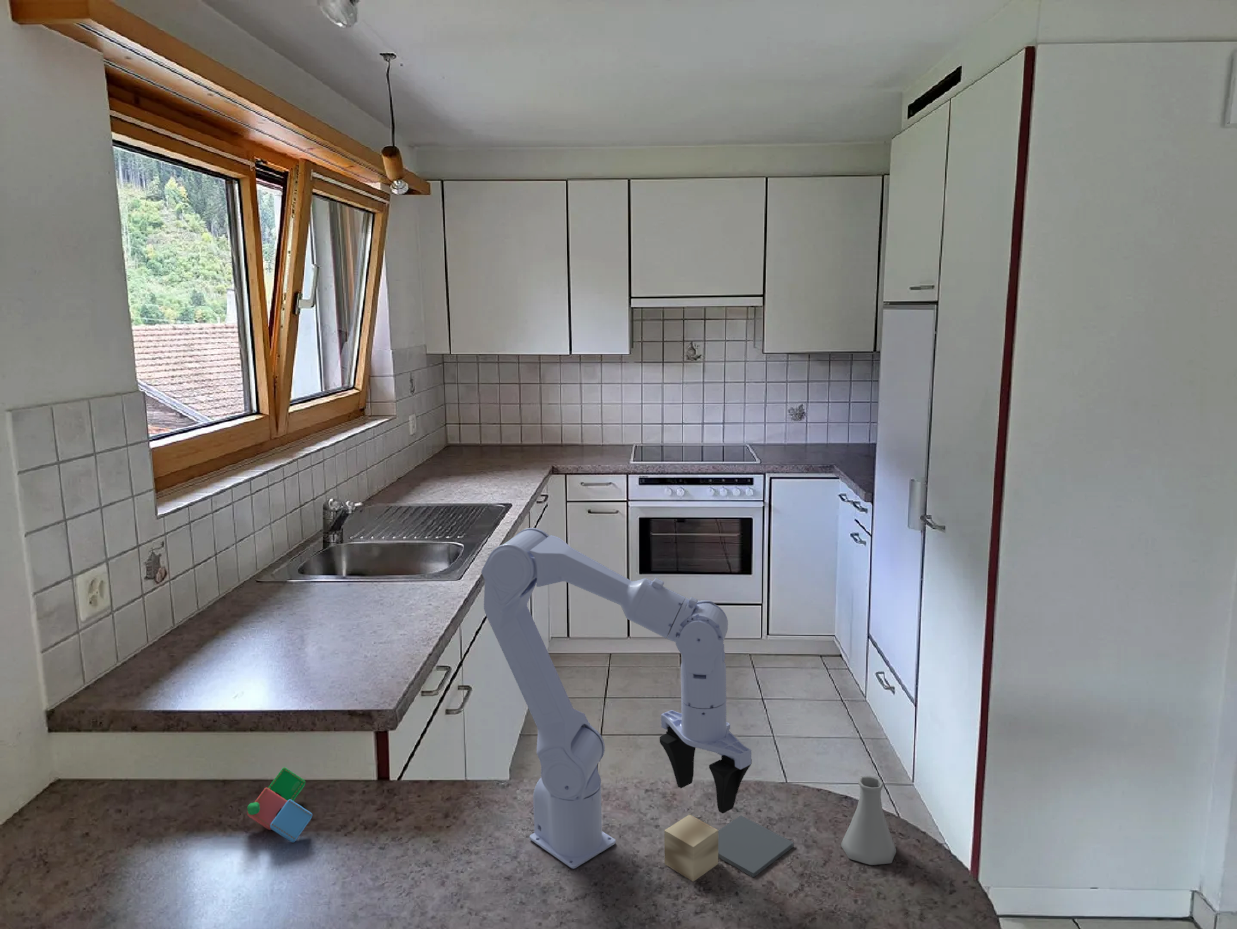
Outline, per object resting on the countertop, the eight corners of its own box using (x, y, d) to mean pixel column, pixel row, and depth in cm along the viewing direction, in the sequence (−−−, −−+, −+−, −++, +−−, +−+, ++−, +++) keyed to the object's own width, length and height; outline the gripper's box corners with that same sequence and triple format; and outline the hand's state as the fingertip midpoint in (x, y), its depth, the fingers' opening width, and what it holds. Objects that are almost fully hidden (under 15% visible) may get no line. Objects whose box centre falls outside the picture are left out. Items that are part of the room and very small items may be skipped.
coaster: (700, 847, 114) (700, 843, 114) (740, 819, 120) (740, 815, 120) (753, 877, 108) (753, 873, 107) (793, 846, 114) (793, 842, 114)
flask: (899, 870, 109) (902, 799, 107) (842, 864, 110) (844, 794, 108) (893, 836, 116) (896, 770, 114) (839, 831, 117) (841, 765, 115)
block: (664, 864, 111) (664, 830, 110) (689, 847, 114) (689, 814, 113) (693, 882, 107) (693, 847, 106) (718, 864, 110) (718, 830, 110)
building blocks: (292, 847, 123) (294, 841, 113) (245, 817, 123) (243, 808, 113) (326, 798, 127) (331, 788, 118) (281, 769, 127) (283, 756, 117)
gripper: (768, 708, 103) (768, 809, 106) (687, 672, 115) (689, 764, 117) (728, 727, 99) (729, 831, 101) (648, 687, 110) (650, 782, 112)
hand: (705, 797), depth 109 cm, fingers open, 7 cm apart
